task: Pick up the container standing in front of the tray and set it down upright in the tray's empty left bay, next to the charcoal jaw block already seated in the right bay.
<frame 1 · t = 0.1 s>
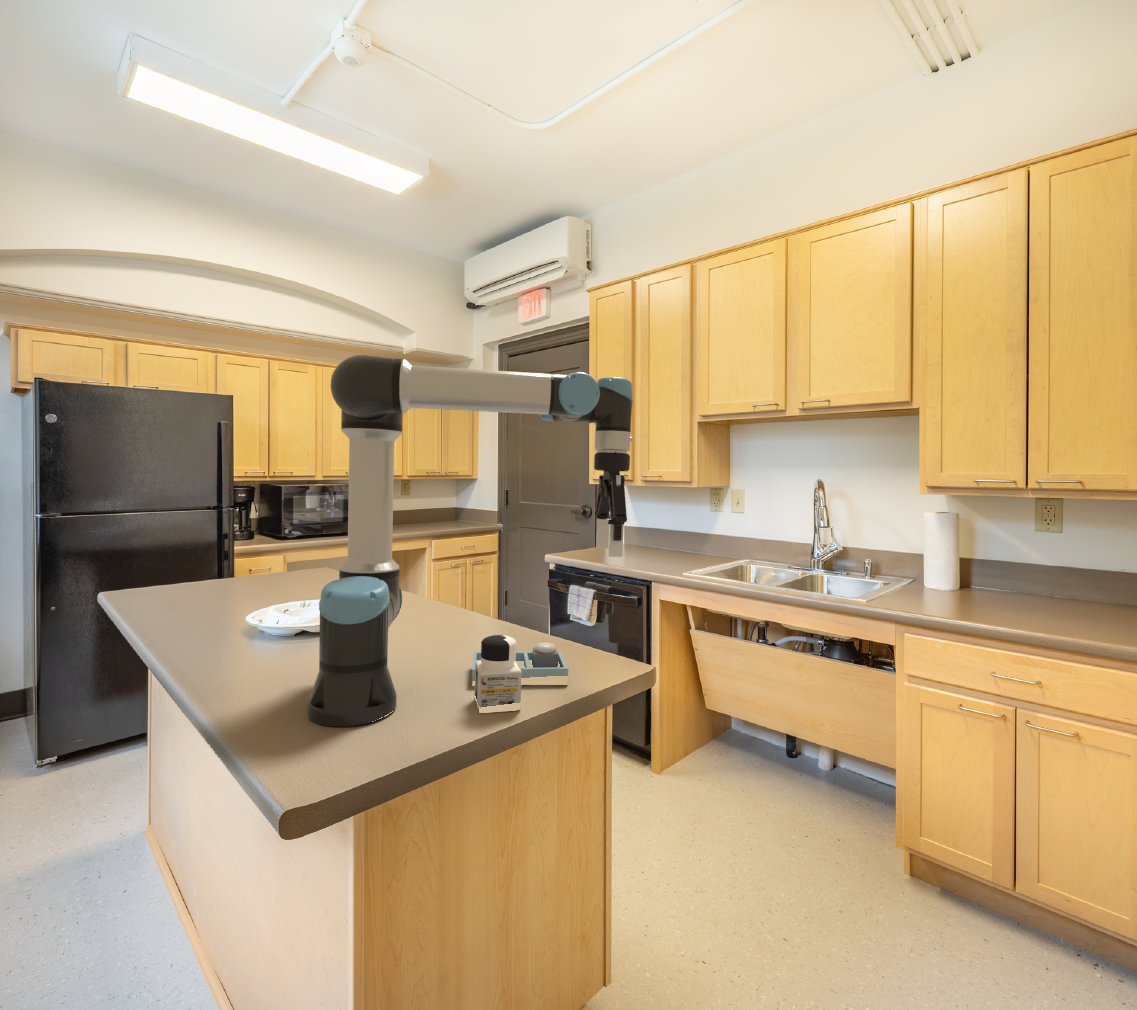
hand: (608, 552, 127), 28 cm above the countertop, tool pointing down, fingers open, 13 cm apart
container: (496, 706, 113), on the countertop
tray: (518, 676, 129), on the countertop
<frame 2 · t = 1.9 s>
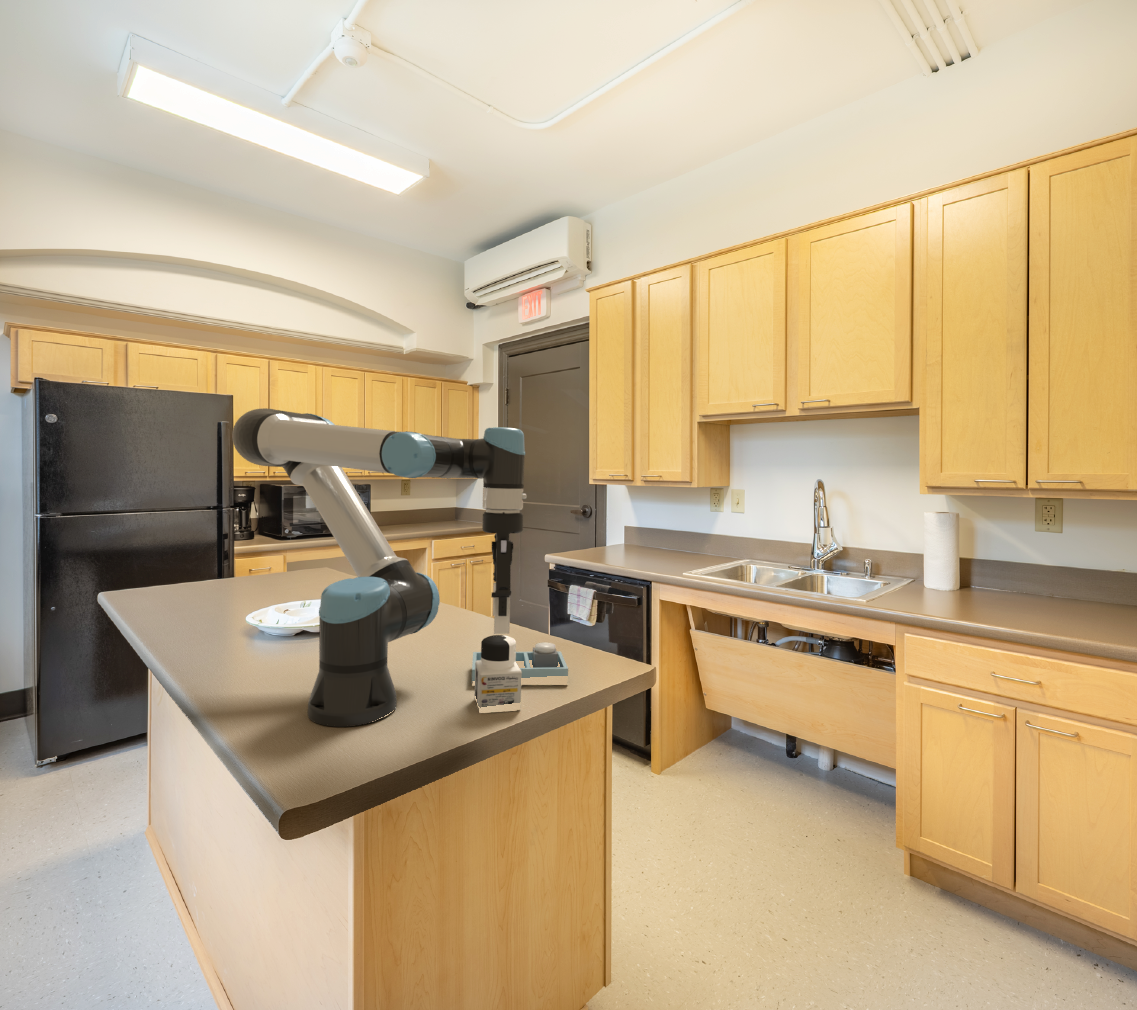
hand: (500, 624, 112), 16 cm above the countertop, tool pointing down, fingers open, 13 cm apart
nothing on the countertop moved.
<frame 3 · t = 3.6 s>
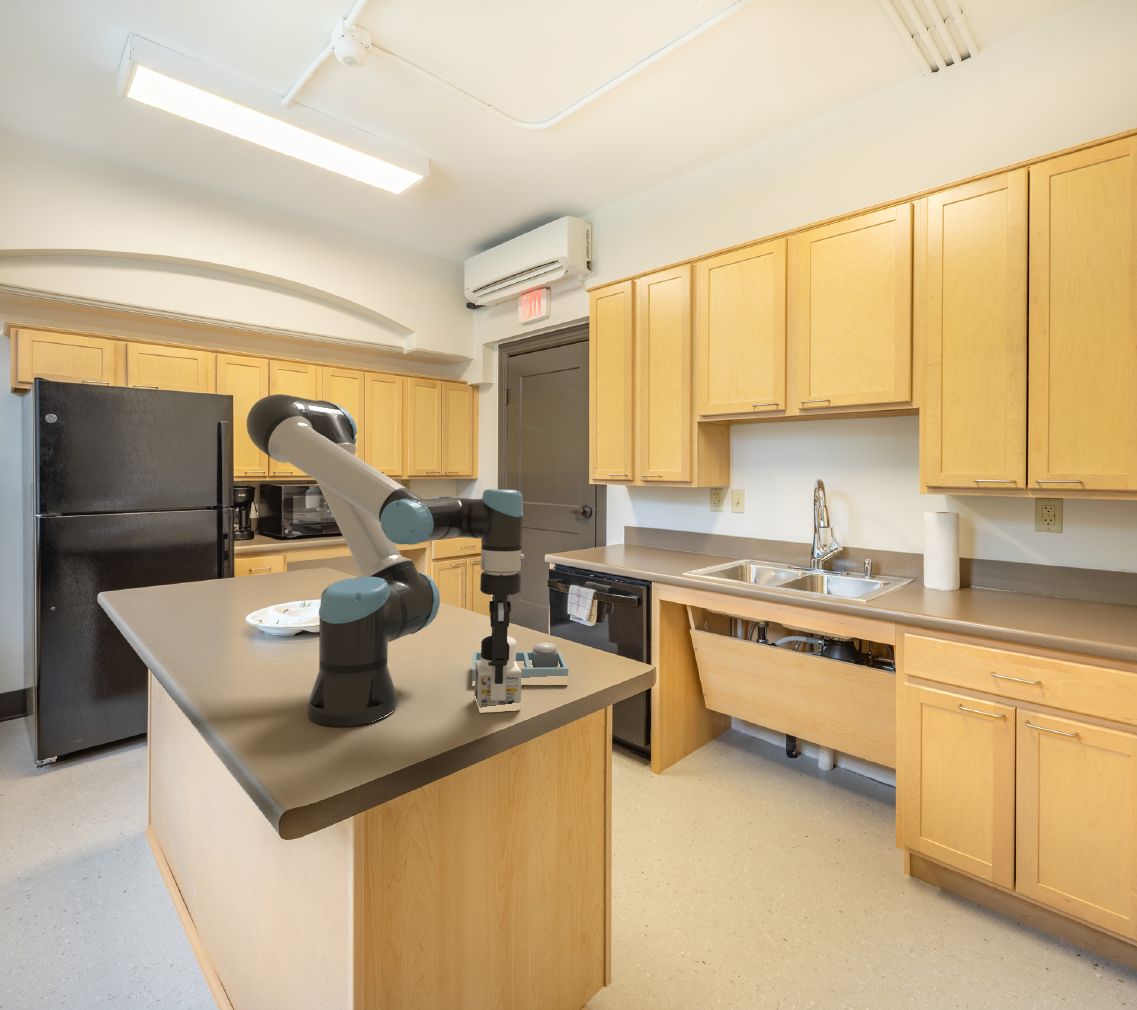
hand: (497, 690, 113), 3 cm above the countertop, tool pointing down, fingers closed on container, 8 cm apart
container: (496, 706, 113), on the countertop, touching gripper
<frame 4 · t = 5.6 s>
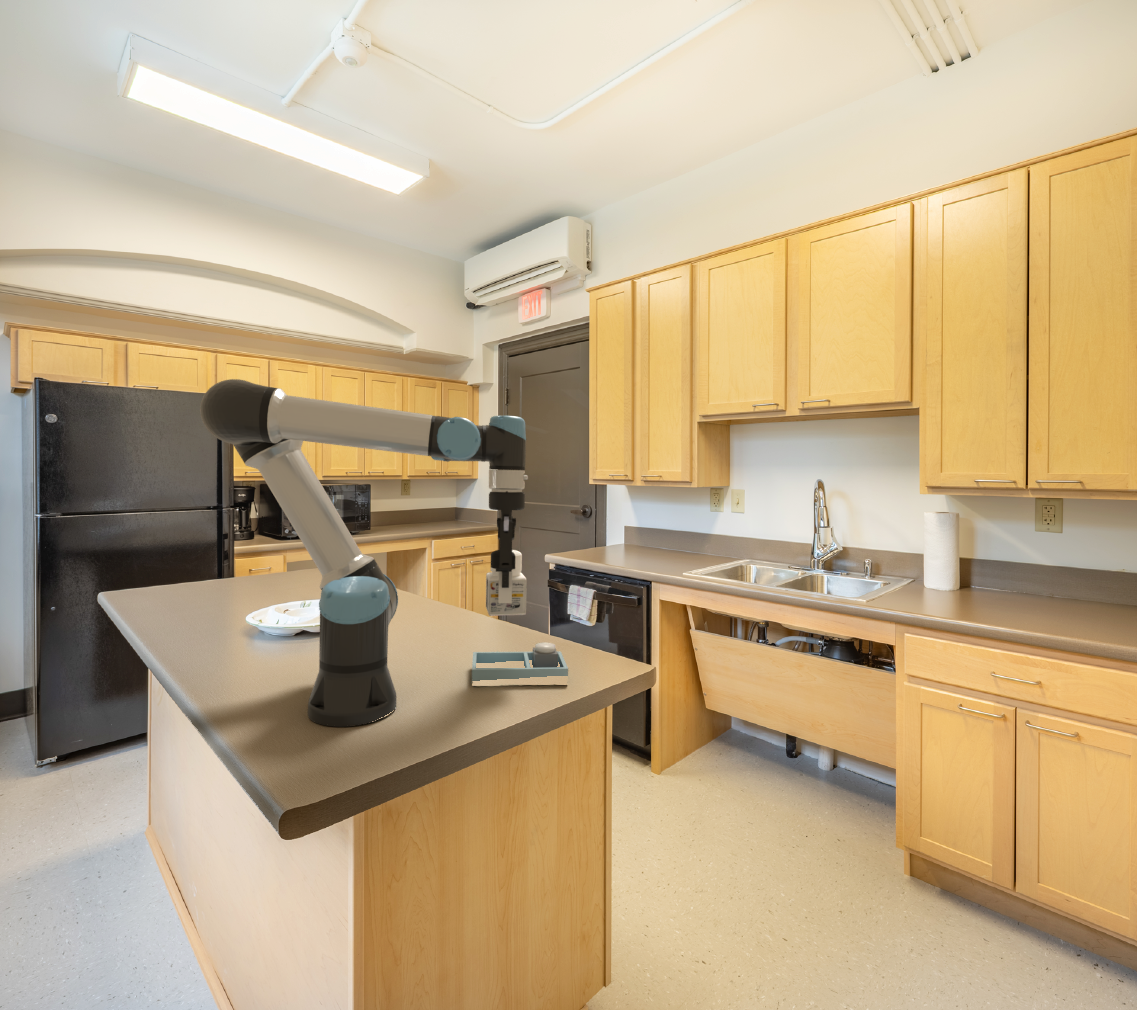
hand: (505, 598, 126), 18 cm above the countertop, tool pointing down, fingers closed on container, 8 cm apart
container: (505, 612, 126), point 15 cm above the countertop, touching gripper
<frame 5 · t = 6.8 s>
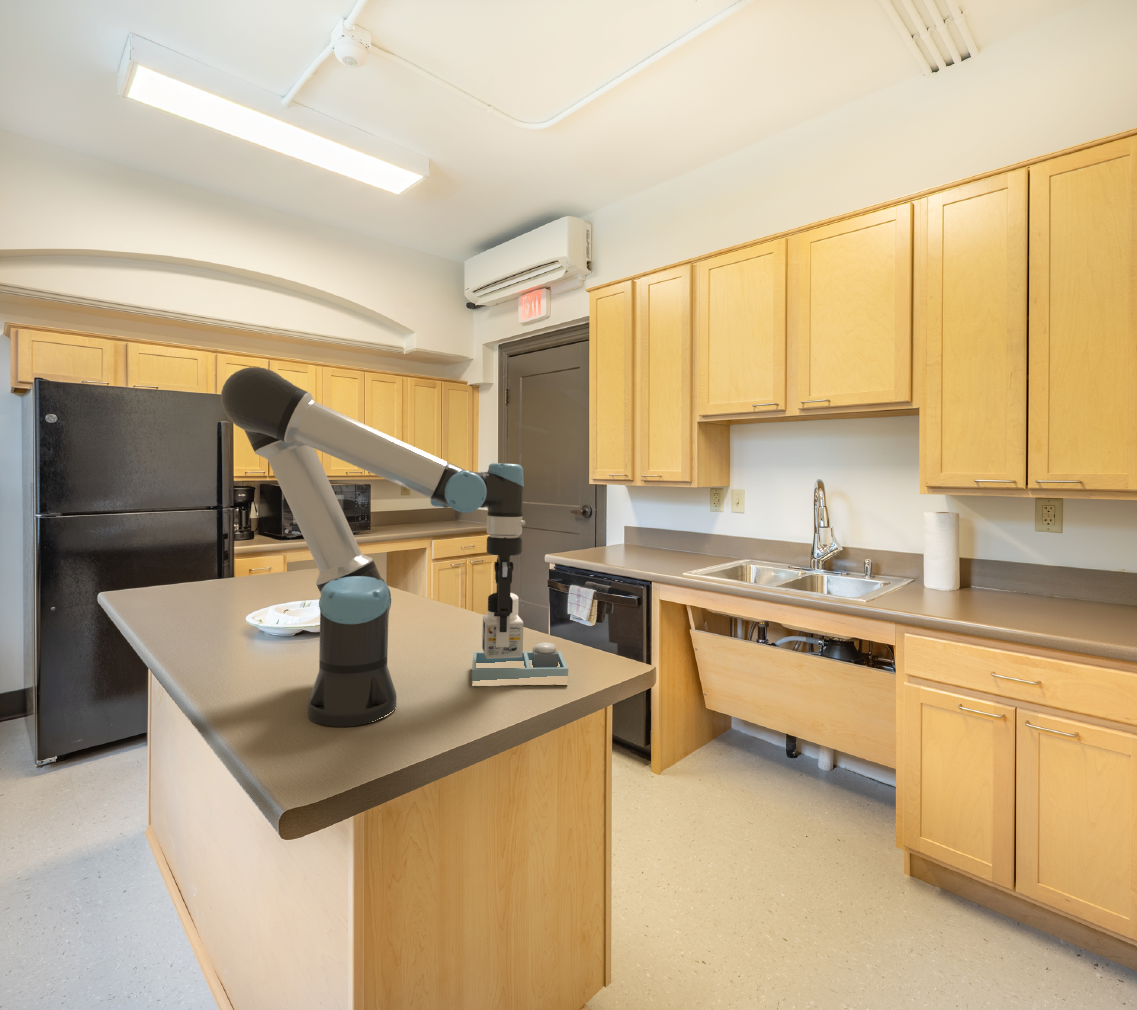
hand: (501, 640, 128), 8 cm above the countertop, tool pointing down, fingers closed on container, 8 cm apart
container: (501, 654, 129), point 5 cm above the countertop, touching gripper
when the fingers open (5 cm above the countertop, at t = 7.7 s): container drops 1 cm, resting on tray.
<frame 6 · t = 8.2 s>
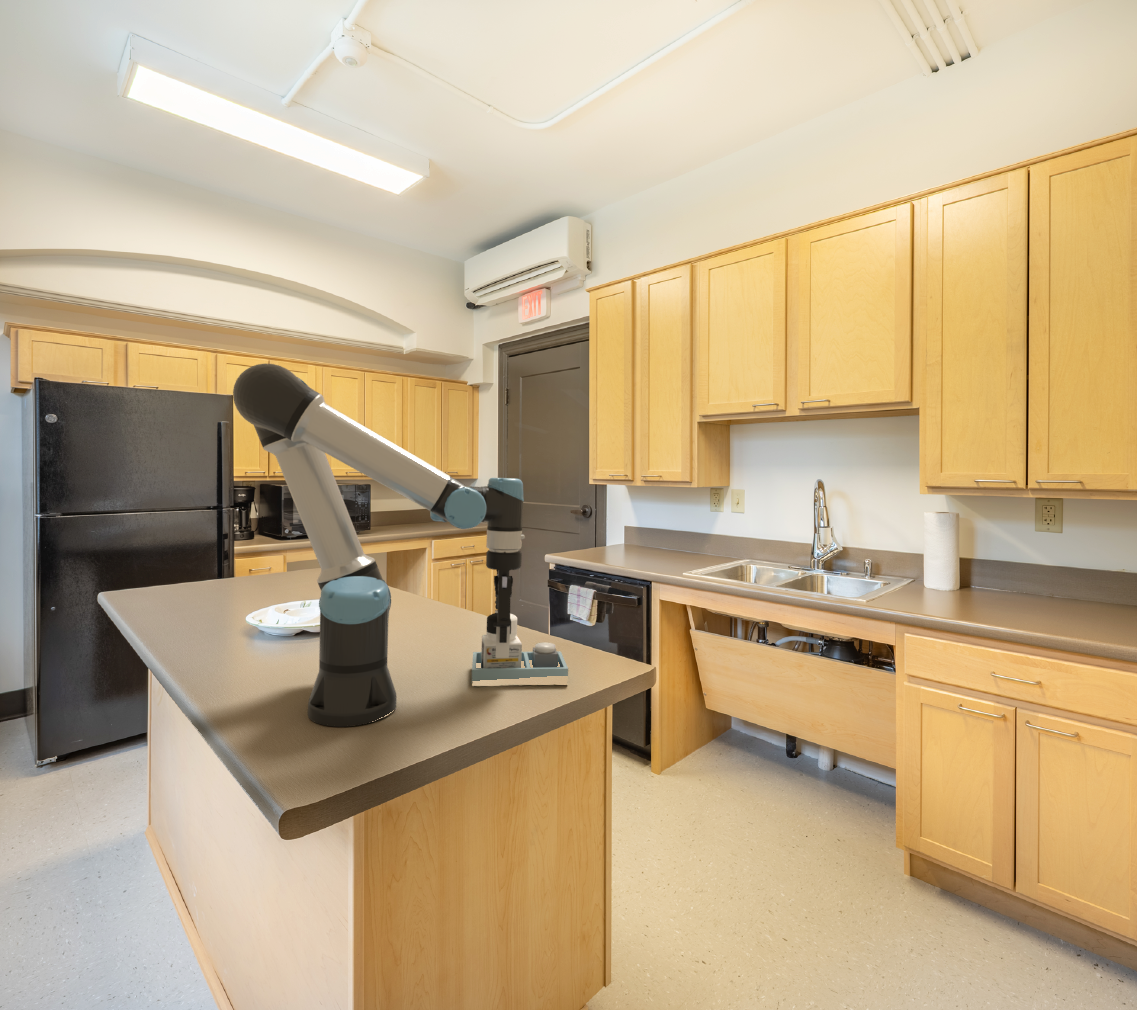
hand: (501, 647, 128), 6 cm above the countertop, tool pointing down, fingers open, 13 cm apart
container: (500, 674, 129), resting on tray
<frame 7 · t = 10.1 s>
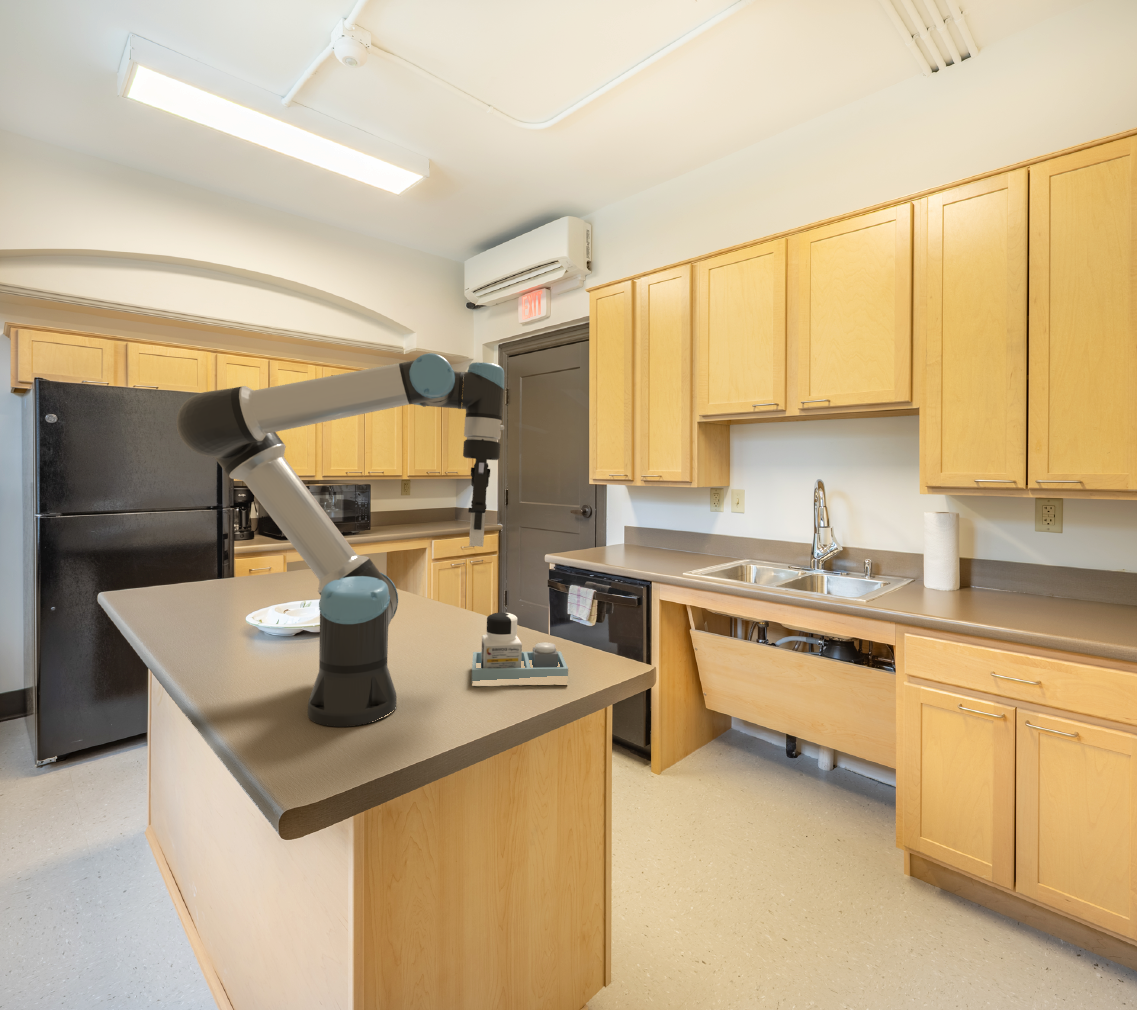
hand: (475, 542, 124), 29 cm above the countertop, tool pointing down, fingers open, 13 cm apart
nothing on the countertop moved.
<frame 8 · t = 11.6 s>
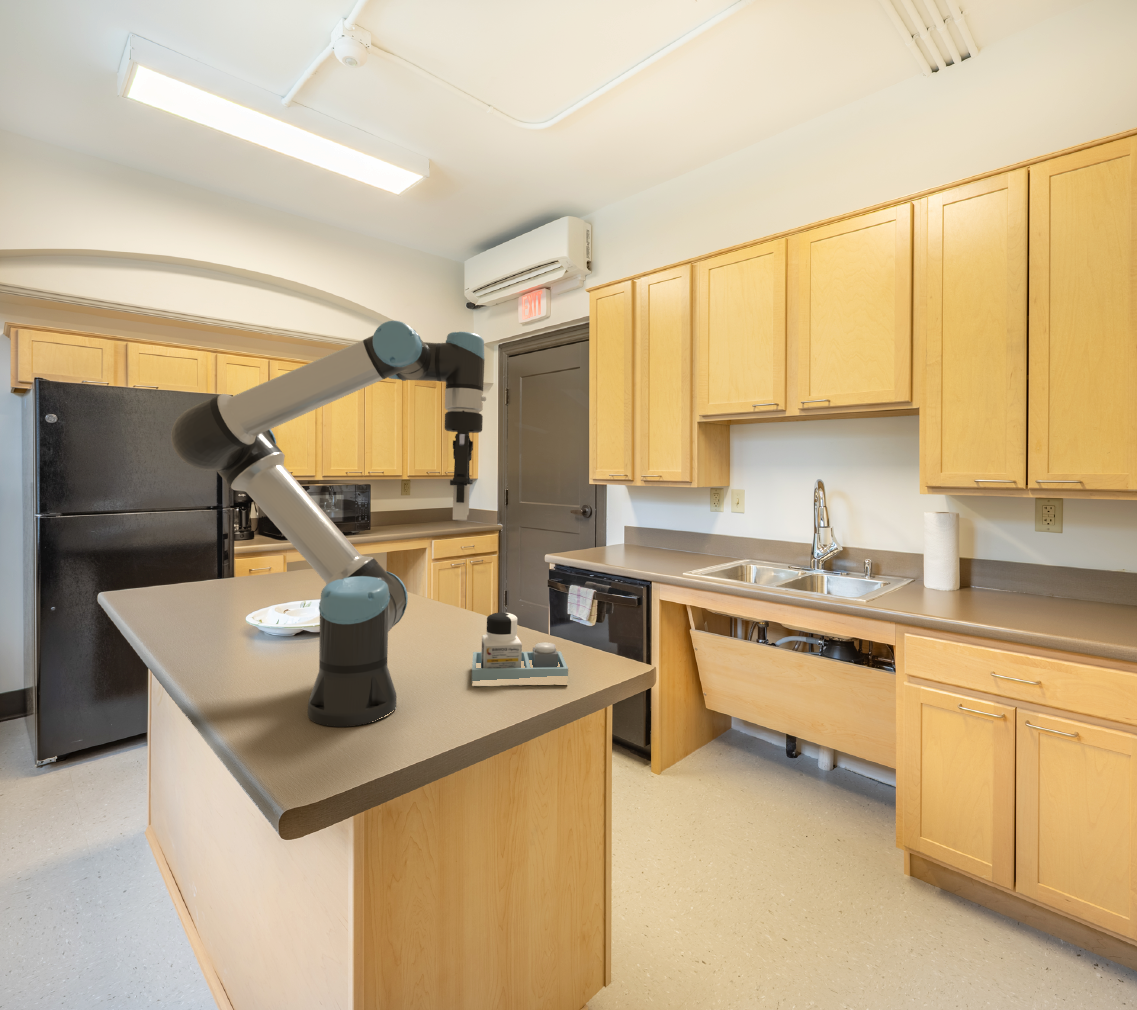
hand: (461, 517, 121), 35 cm above the countertop, tool pointing down, fingers open, 13 cm apart
nothing on the countertop moved.
at the end: container inside the target area on the tray (0.0 cm from its centre), point 0.4 cm above the tray's base; container tilted 0°; the gripper is holding nothing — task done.
